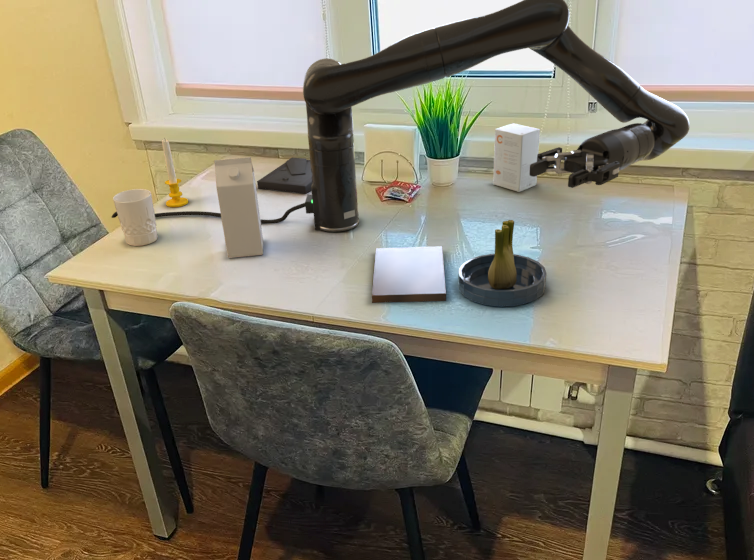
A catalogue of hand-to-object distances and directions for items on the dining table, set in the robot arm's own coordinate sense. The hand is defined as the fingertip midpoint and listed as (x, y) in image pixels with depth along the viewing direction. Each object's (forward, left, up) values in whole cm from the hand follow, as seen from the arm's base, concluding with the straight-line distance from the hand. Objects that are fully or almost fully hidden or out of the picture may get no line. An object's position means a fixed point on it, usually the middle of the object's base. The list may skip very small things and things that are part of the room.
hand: (550, 176), depth 136 cm
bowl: (-8, -7, -17) cm, 21 cm away
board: (-25, -2, -17) cm, 30 cm away
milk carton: (-58, +13, -18) cm, 62 cm away
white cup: (-82, +20, -18) cm, 86 cm away
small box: (0, +45, -18) cm, 48 cm away
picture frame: (-52, +55, -18) cm, 78 cm away
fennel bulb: (-8, -7, -17) cm, 21 cm away
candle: (-80, +41, -18) cm, 91 cm away
